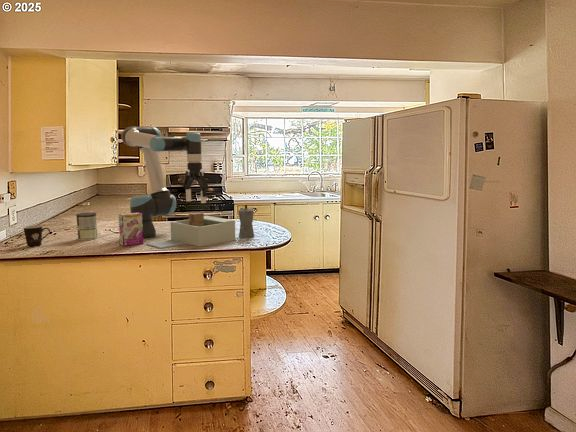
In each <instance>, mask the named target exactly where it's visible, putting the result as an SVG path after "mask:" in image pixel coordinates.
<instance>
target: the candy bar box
mask: <svg viewBox="0 0 576 432" xmlns="http://www.w3.org/2000/svg"><path fill="white" fill-rule="evenodd" d="M118 229H119V230H118V231H119V233H118V234H119V235H118V236H119V246H122V247H128V246H129V247H130V246H131V247H132V246H136V245H137V246H138V245H142V244H144V238H143V217H142V213H131V212H130V213H129V212H128V213H118Z"/></svg>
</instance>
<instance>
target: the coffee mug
mask: <svg viewBox="0 0 576 432" xmlns="http://www.w3.org/2000/svg"><path fill="white" fill-rule="evenodd" d="M22 229H23V232H24V236H25V241H26V245H27V247H28V246H38V247H40V246H39V245H41V246H42V241H43V240H44V239H45V238H47V237H49V235H50V233H51V229H50V228H49V227H43V225H27V226H24V227H23V228H22ZM44 230H48V233H47V234H46V235H44V236H42V235H43V231H44Z"/></svg>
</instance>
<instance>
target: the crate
mask: <svg viewBox="0 0 576 432" xmlns="http://www.w3.org/2000/svg"><path fill="white" fill-rule="evenodd" d="M170 240H173V241H177V242H181V243H185V244H187V245H191V246H195V247H198V248H199V247H203V246H204V247H205V246H210V245H215V244H221V243H225V242H226V243H227V242H231V241H236V220H233V219H228V218H222V217H217V216H211V215H204V226H202V227H197V226H192V225H189V218H188V219H183V220H174V221H170Z"/></svg>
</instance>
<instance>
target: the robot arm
mask: <svg viewBox="0 0 576 432" xmlns="http://www.w3.org/2000/svg"><path fill="white" fill-rule="evenodd" d="M120 137H121V141H122V143H124V144H125V146H129V147H139V151H140V152H141V153H142V154H143V158H144V159H143V160H144V162H145V167H146V171H147V176H148V180H149V186H150V189H151V192H150V194H149V193H145V194H138V195H133V196H132V197H130V200H129V201H130V202H129V210H130V213H142V217H143V239H147V238H148V239H149V238H152V237H153V238H154V237H155V236H156V237H157V229H156V228H155V225H154V224H153V217H159V216H168V215H172V214H173V213H174V212H175V211H176V208H177V199H176V196H175V195H174V194H172V193H171V190H169V189H167V184H166V181H165V177H164V171H163V167H162V162H161V158H160V152H186V161H187V170H186V171H185V176H184V180H183V184H182V187H183V188H182V189H184V190H185V201H186V202H192V188H191V186H192V184H193V182H194V181H196V182H197V184H198V186H199V187H200V189H201V190H200V204H206V203H207V190H208V191H209V188H210V187H209V185H208V182H207V178H206V175H205V174H206V173H205V171H201V170H203V164H202V163H203V162H202V161H203V160H202V158H203V157H202V138H201V133H200V132H187V133H186V135H185V136H162V133H161V131H160V130H159V129H158V128H157V127H155V126H133V125H132V126H127V127H126V128H124V129H123V130H122V131H121V136H120Z"/></svg>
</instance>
